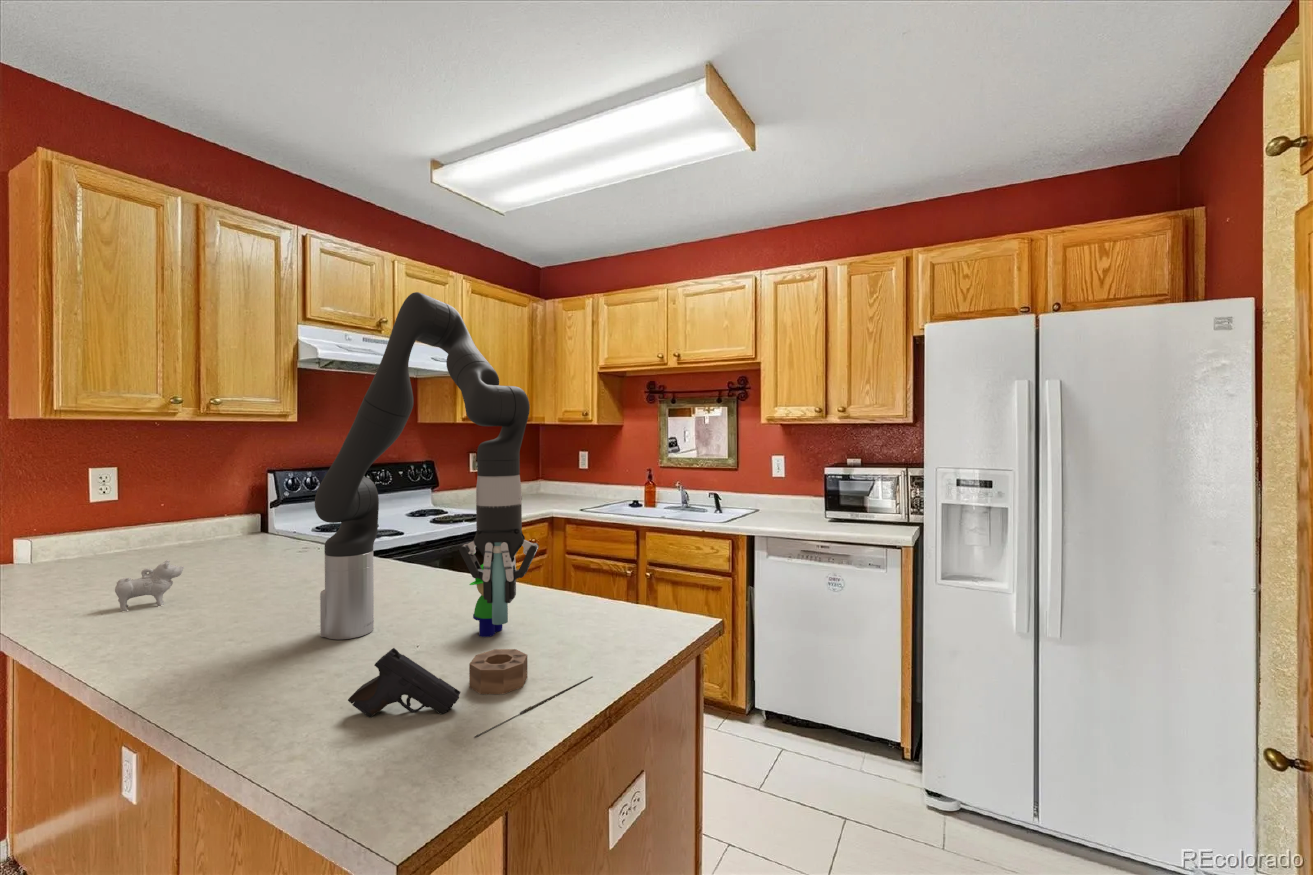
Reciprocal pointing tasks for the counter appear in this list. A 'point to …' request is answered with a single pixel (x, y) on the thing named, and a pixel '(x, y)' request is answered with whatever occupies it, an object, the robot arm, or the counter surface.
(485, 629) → the toy
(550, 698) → the paintbrush
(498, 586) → the teal capped tube
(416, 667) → the handgun
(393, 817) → the counter surface
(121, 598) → the grey pig charm
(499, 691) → the bead
